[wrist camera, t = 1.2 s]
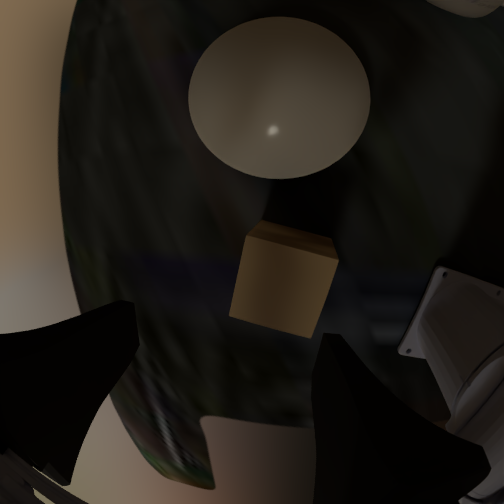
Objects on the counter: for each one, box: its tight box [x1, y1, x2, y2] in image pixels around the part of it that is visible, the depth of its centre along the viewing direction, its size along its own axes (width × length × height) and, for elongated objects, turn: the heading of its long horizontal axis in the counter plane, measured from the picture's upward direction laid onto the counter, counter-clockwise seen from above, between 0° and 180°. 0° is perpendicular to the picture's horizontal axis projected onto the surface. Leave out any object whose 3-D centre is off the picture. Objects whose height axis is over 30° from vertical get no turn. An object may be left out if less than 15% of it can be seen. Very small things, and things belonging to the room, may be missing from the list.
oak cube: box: [229, 220, 339, 338], centre depth 17 cm, size 5×5×5 cm
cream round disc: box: [188, 17, 370, 179], centre depth 15 cm, size 11×11×3 cm
